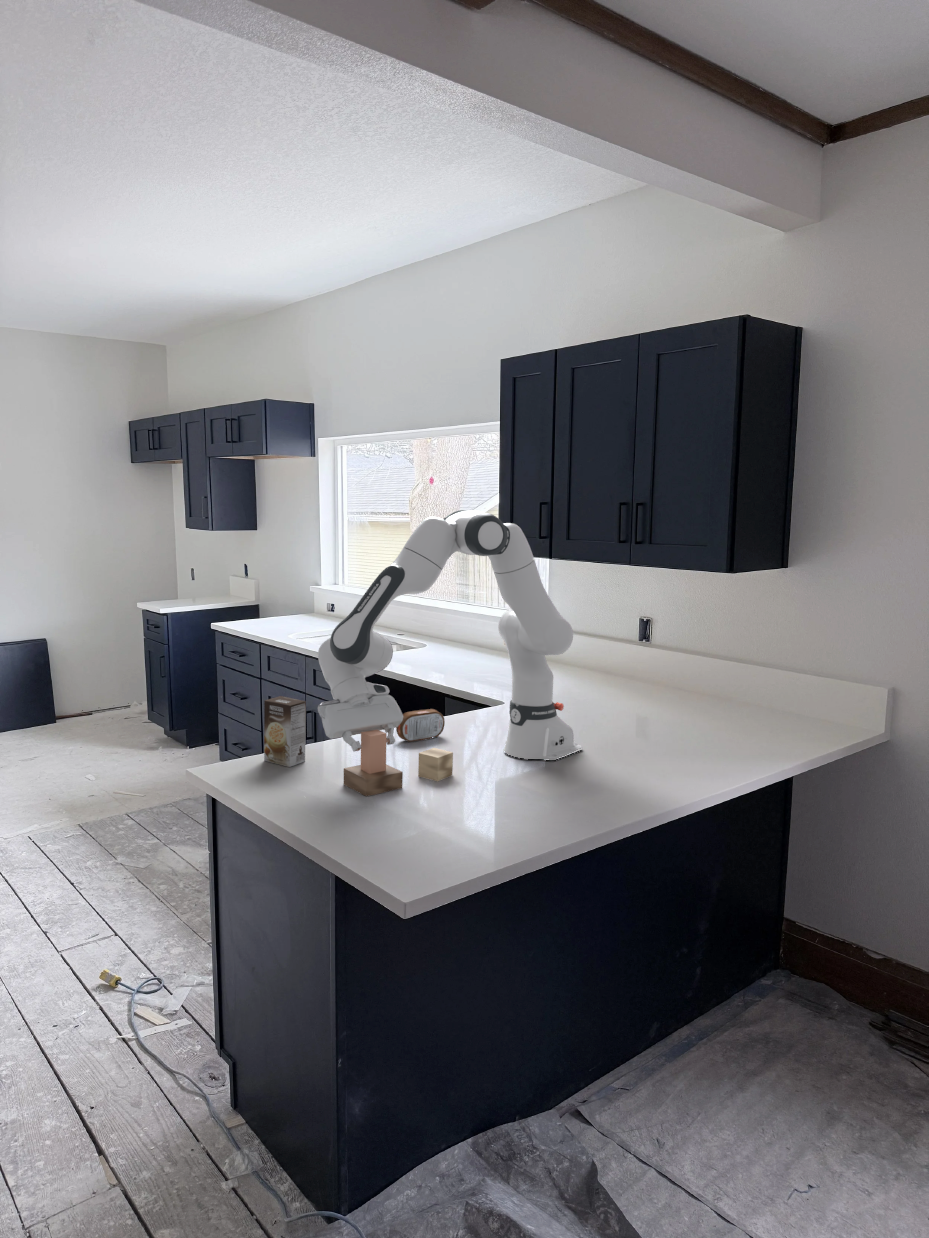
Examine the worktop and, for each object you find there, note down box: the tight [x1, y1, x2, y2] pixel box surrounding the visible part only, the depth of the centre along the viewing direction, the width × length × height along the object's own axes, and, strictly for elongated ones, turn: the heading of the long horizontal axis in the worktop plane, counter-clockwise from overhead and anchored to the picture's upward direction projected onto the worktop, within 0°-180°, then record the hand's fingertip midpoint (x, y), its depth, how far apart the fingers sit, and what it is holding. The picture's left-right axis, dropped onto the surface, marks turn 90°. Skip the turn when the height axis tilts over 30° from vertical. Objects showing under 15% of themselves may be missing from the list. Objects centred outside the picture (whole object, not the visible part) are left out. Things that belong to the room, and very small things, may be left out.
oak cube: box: [417, 747, 454, 782], centre depth 209 cm, size 6×6×6 cm
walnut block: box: [343, 763, 404, 797], centre depth 200 cm, size 10×10×4 cm
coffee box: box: [263, 695, 307, 768], centre depth 217 cm, size 9×6×16 cm
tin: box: [395, 708, 446, 743], centre depth 241 cm, size 15×3×8 cm, turn 125°
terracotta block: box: [360, 730, 388, 774], centre depth 200 cm, size 4×4×9 cm
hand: (375, 746), depth 199 cm, fingers open, 8 cm apart
